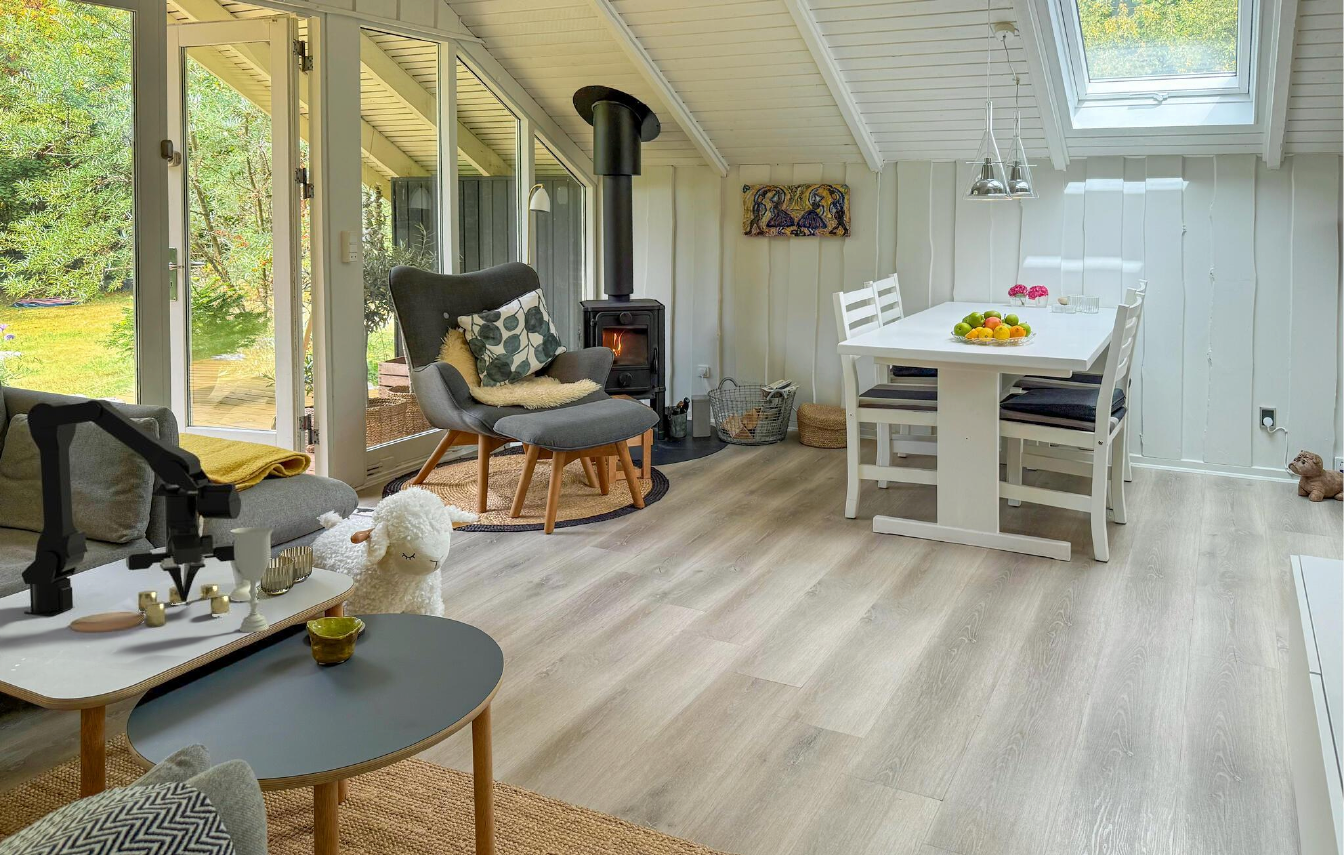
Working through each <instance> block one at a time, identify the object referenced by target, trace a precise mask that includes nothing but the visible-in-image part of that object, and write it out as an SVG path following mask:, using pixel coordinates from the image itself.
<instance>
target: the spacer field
mask: <svg viewBox="0 0 1344 855" xmlns="http://www.w3.org/2000/svg"><path fill="white" fill-rule="evenodd" d="M168 593H169V594H168V596H169V598H168V600H169V604H170V603H171V604H172V603H173V604H176V603H182V602H186V601H187V600H188V597H187V600H186V601H181V599H180V596H179V594H178V591H177V589H176V586H173V587H169V589H168ZM137 594H138V595H137V597H138V599H137V601H138V611H139V610H140V611H145V613H144V614H145V627H146V628H158V627H159V628H160V627H163V625H164V626H165V625H166V607H165V605H166V603H165V602H164V601H158V592H157V591H156V590H144V591H139V592H137ZM203 598H204V599H203ZM208 598H210V599H208ZM200 599H202V600H210V614H211V613H212V614H222V613H227V612H228V611H229V612H230V595H229V594H219V584H215V583H211V584H208V583H207V584H203V585H200Z"/></svg>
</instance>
